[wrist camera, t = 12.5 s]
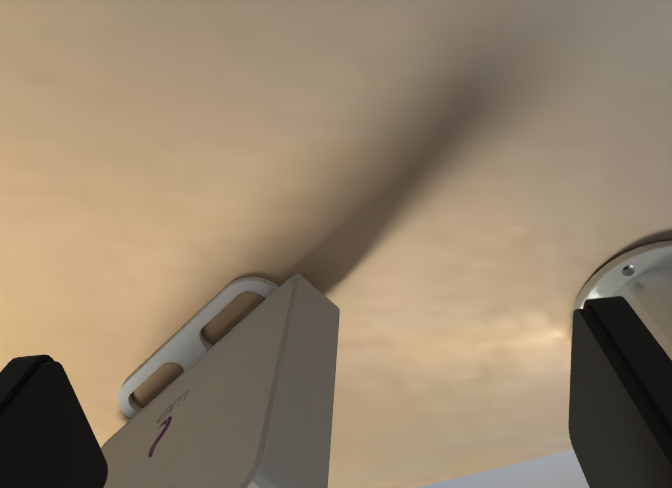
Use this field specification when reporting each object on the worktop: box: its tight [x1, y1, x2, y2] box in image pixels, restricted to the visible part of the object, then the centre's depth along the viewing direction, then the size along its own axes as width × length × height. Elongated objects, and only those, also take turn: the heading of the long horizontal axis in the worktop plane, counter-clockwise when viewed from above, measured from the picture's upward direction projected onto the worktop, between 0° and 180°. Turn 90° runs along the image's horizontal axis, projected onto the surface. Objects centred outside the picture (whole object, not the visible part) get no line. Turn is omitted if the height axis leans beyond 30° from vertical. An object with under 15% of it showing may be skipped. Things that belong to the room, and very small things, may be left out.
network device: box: [101, 274, 340, 488], centre depth 38 cm, size 26×9×20 cm, turn 135°
